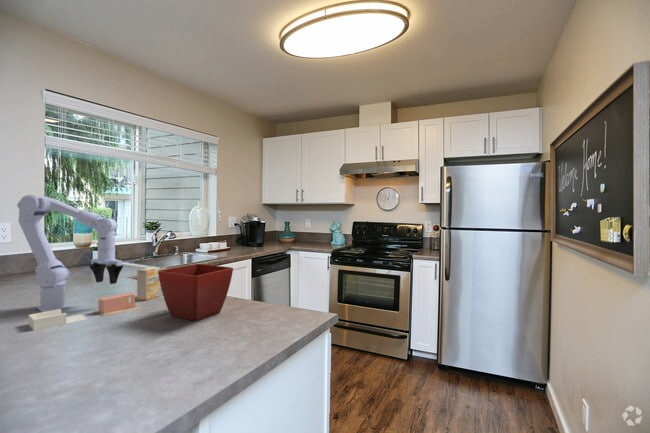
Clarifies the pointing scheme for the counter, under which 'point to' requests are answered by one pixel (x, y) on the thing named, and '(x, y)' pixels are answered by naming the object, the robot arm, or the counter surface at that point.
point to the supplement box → (148, 283)
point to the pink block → (116, 303)
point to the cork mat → (120, 310)
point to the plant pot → (195, 289)
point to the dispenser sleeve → (53, 319)
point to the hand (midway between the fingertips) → (106, 282)
